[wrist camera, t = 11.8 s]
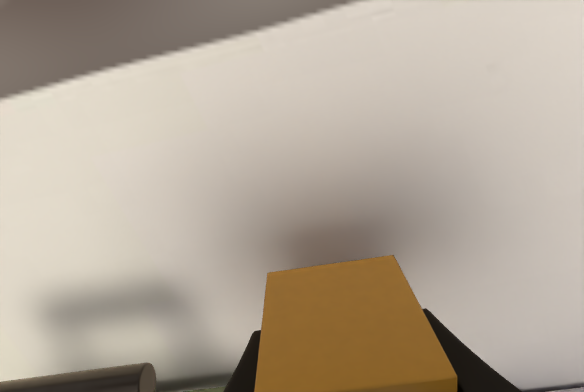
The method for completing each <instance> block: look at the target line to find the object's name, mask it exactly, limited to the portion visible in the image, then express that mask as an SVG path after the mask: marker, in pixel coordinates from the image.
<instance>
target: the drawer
mask: <svg viewBox="0 0 584 392" xmlns="http://www.w3.org/2000/svg"><path fill="white" fill-rule="evenodd" d="M155 387H156V373H155V369H154V367H153V365H152V364H150V363H140V364H132V365H124V366H117V367H109V368H102V369H94V370H86V371H79V372H71V373H64V374H56V375H48V376H41V377H33V378H26V379H18V380H11V381H3V382H0V392H155ZM225 388H226V386H224V387H216V388H208V389H200V390H193V391H185V392H223V391H224V390H225Z"/></svg>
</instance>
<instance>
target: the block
mask: <svg viewBox="0 0 584 392" xmlns="http://www.w3.org/2000/svg"><path fill="white" fill-rule="evenodd" d="M254 392H457V375H456V373H455V371H454V369H453V367H452V365H451V363H450V361H449V360H448V358H447V356H446V354H445V352H444V350H443V348H442V346H441V344H440V342H439V341H438V339H437V337H436V335H435V333H434V331H433V329H432V327H431V325H430V323H429V322H428V320H427V318H426V316H425V314H424V312H423V310H422V308H421V306H420V304H419V302H418V301H417V299H416V297H415V295H414V293H413V291H412V289H411V287H410V285H409V283H408V282H407V280H406V278H405V276H404V274H403V272H402V270H401V268H400V266H399V264H398V263H397V261H396V259H395V257H394V255H389V256H382V257H375V258H368V259H361V260H354V261H347V262H340V263H333V264H326V265H319V266H312V267H304V268H297V269H290V270H283V271H276V272H269V273H267V281H266V290H265V299H264V308H263V318H262V327H261V336H260V345H259V354H258V363H257V372H256V381H255V390H254Z"/></svg>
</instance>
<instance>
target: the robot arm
mask: <svg viewBox="0 0 584 392" xmlns="http://www.w3.org/2000/svg"><path fill="white" fill-rule="evenodd" d="M422 310H423V312H424V314H425V316H426V318H427V320H428V322H429V323H430V325H431V327H432V329H433V331H434V333H435V335H436V337H437V339H438V341H439V342H440V344H441V346H442V348H443V350H444V352H445V354H446V356H447V358H448V360H449V361H450V363H451V365H452V367H453V369H454V371H455V373H456V375H457V392H522V391H521V390H519V389H518V388H517V387H515V386H514V385H513V384H511V383H510V382H509V381H507V380H506V379H505V378H504V377H502V376H501V375H500V374H499V373H497V372H496V371H495V370H493V369H492V368H491V367H490V366H489V365H487V364H486V363H485V362H484V361H483V360H481V359H480V358H479V357H478V356H477V355H476V354H475V353H473V352H472V351H471V350H470V349H469V348H468V347H467V346H465V345H464V344H463V343H462V342H461V341H460V340H459V339H458V338H457V337H456V336H454V335H453V334H452V333H451V332H450V331H449V330H448V329H447V328H446V327H445V326H444V325H443V324H442V323H441V322H440V321H439V320H438V319H437V318H436V317H435V316H434V315H433V314H432V313H431V312H430V311H429V310H427V309H426V308H425V309H422ZM260 336H261V330H259V331H254V333H253V334H252V336H251V338H250V340H249V343H248V345H247V347H246V349H245V351H244V353H243V356H242V358H241V360H240V362H239V364H238V366H237V368H236V369H235V371H234V373H233V375H232V377H231V379H230V381H229V382H228V384H227V386H226V388H225V390H224V391H223V392H254V390H255V381H256V372H257V363H258V354H259V345H260ZM547 392H584V387H580V388H572V389H564V390H555V391H547Z"/></svg>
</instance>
